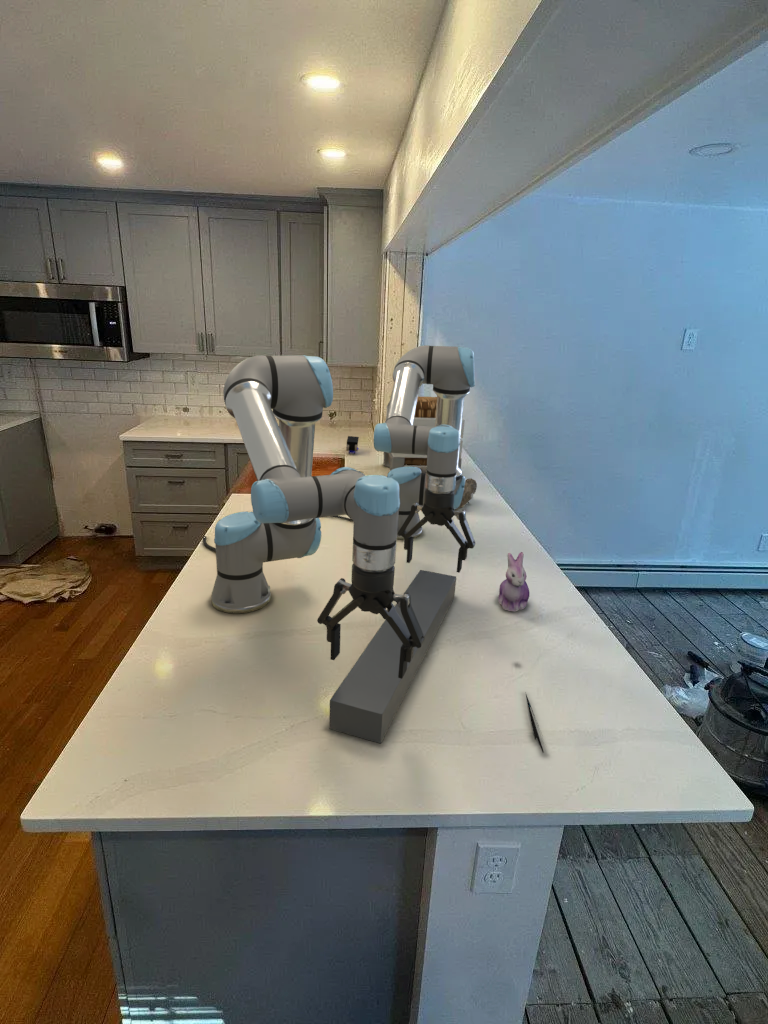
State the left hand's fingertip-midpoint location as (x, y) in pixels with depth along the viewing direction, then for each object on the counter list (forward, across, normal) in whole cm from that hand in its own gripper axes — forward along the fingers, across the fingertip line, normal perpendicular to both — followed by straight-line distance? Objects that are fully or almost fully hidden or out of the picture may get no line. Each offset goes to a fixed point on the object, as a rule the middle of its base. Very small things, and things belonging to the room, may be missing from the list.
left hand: (368, 665), depth 107 cm
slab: (+12, 0, +24) cm, 26 cm away
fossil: (+14, -11, +135) cm, 136 cm away
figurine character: (+17, -83, +194) cm, 212 cm away
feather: (+11, +30, +15) cm, 35 cm away
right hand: (+1, 0, +48) cm, 48 cm away
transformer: (+15, -38, +171) cm, 176 cm away
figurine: (+12, +21, +56) cm, 62 cm away
